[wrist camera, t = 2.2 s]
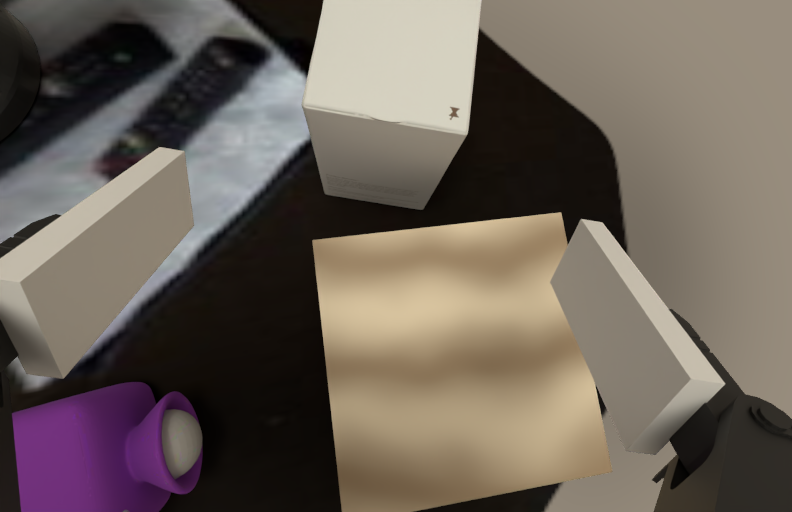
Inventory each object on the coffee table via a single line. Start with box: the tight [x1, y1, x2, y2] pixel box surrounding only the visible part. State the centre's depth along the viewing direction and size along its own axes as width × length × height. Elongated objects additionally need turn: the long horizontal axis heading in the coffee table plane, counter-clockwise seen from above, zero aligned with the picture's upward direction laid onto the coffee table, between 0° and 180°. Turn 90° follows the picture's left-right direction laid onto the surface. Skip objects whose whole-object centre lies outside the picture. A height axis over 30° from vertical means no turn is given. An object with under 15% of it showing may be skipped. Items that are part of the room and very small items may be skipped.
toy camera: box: [12, 382, 203, 512], centre depth 26 cm, size 11×14×10 cm
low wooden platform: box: [312, 213, 612, 512], centre depth 30 cm, size 16×16×10 cm
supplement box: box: [302, 0, 482, 210], centre depth 29 cm, size 9×9×15 cm
